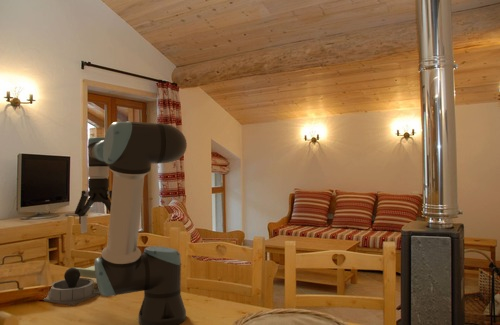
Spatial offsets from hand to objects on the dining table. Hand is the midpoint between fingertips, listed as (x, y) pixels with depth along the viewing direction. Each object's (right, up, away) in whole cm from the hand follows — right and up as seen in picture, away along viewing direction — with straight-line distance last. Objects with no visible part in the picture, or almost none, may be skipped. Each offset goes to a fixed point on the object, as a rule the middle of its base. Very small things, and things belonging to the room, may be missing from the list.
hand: (98, 233), depth 157 cm
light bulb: (-10, -23, 0) cm, 25 cm away
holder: (-10, -24, 0) cm, 26 cm away
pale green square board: (-5, -19, +15) cm, 25 cm away
